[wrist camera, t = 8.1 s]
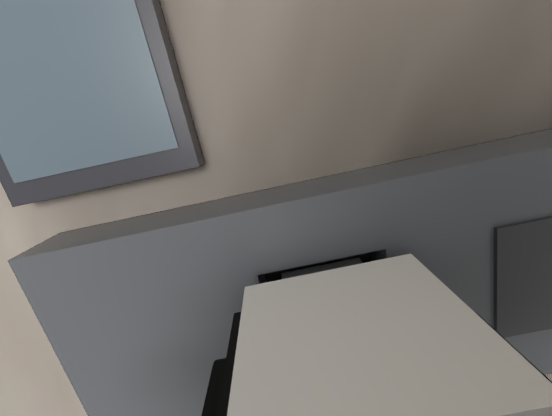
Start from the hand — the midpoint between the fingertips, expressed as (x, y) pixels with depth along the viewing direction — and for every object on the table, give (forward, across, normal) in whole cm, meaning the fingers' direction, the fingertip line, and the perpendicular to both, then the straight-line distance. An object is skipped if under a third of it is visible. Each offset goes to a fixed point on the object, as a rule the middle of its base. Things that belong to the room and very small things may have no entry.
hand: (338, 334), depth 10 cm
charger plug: (+2, 0, 0) cm, 2 cm away
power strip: (+3, -7, 0) cm, 7 cm away
